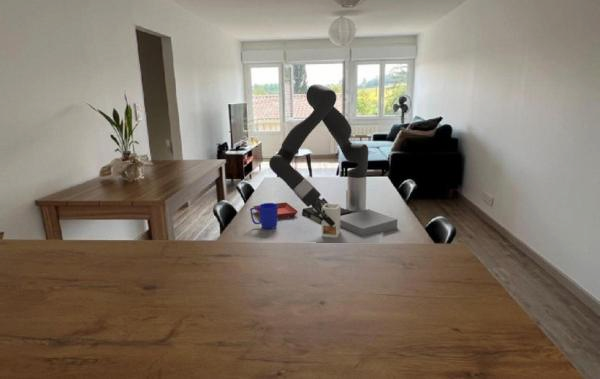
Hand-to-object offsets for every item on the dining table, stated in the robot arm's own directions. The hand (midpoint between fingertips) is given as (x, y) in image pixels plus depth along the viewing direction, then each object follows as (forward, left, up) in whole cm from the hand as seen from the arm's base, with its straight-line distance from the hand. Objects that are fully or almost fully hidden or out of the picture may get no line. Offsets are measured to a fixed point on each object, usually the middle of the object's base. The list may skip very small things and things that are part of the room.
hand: (335, 222), depth 152 cm
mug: (-27, -18, -6) cm, 33 cm away
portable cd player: (-22, +12, -7) cm, 26 cm away
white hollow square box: (-1, -1, -6) cm, 6 cm away
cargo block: (-1, -1, -5) cm, 5 cm away
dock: (-1, +18, -6) cm, 19 cm away
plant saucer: (-41, -5, -7) cm, 42 cm away
